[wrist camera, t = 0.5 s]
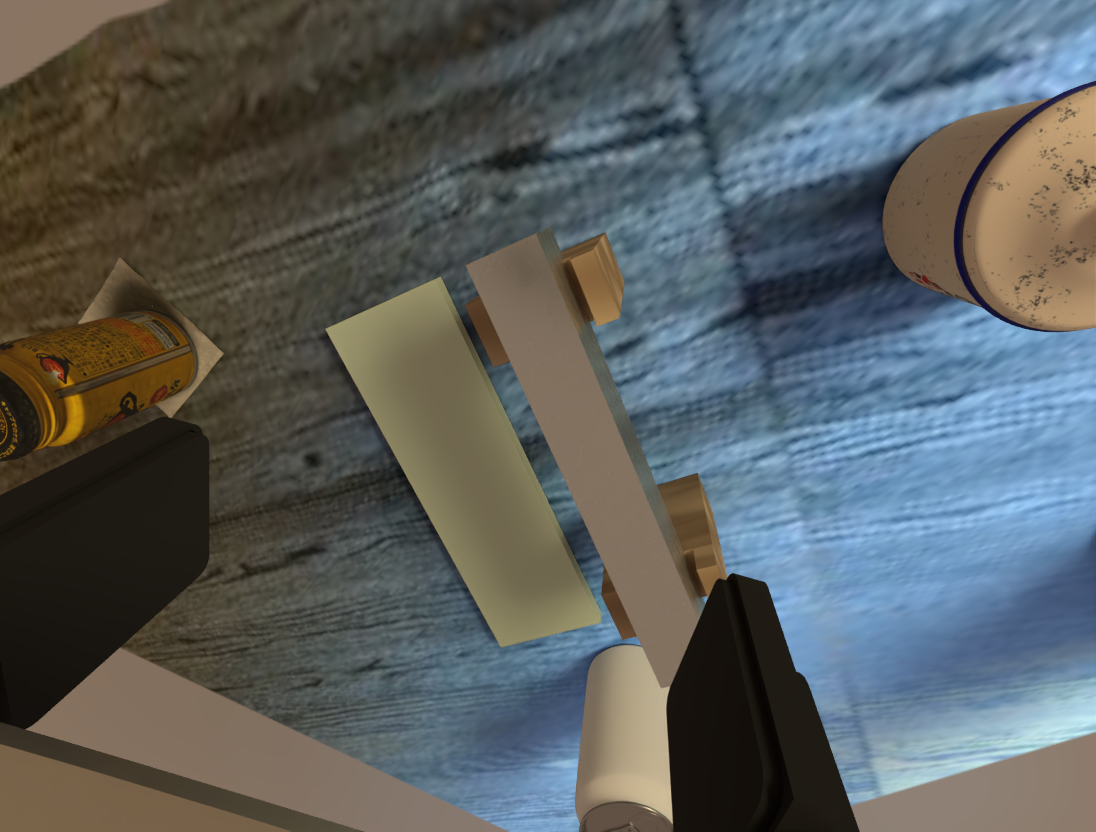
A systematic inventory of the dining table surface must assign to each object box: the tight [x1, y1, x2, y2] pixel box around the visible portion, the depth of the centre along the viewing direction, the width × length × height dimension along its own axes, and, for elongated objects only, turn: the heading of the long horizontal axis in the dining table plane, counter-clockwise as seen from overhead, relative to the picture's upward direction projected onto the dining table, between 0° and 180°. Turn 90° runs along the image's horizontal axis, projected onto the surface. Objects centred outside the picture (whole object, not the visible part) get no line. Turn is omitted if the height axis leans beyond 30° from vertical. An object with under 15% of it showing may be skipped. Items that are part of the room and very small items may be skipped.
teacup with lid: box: [883, 81, 1096, 332], centre depth 24 cm, size 12×9×12 cm
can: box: [575, 644, 673, 832], centre depth 39 cm, size 6×6×12 cm
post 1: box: [465, 233, 624, 367], centre depth 29 cm, size 3×6×10 cm, turn 113°
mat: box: [325, 277, 601, 647], centre depth 39 cm, size 26×8×1 cm, turn 23°
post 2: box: [601, 473, 728, 640], centre depth 34 cm, size 3×6×10 cm, turn 113°
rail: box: [466, 227, 705, 688], centre depth 27 cm, size 22×3×4 cm, turn 23°
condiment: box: [0, 258, 224, 461], centre depth 34 cm, size 7×8×12 cm
